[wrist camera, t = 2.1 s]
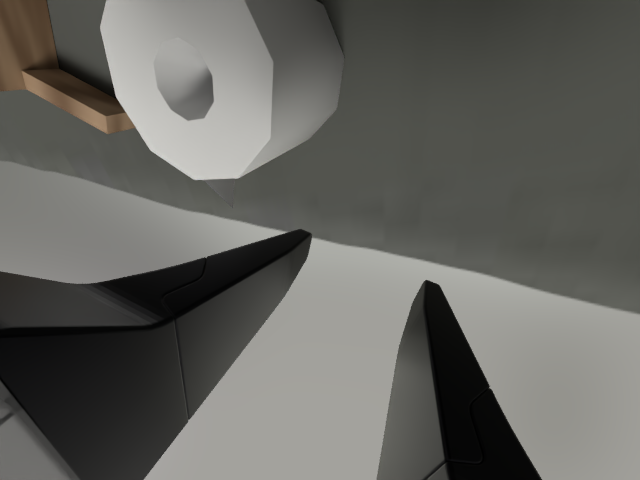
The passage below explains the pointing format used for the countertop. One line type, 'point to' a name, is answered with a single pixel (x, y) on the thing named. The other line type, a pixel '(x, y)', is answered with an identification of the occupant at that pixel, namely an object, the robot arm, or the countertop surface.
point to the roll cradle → (49, 67)
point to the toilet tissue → (223, 79)
